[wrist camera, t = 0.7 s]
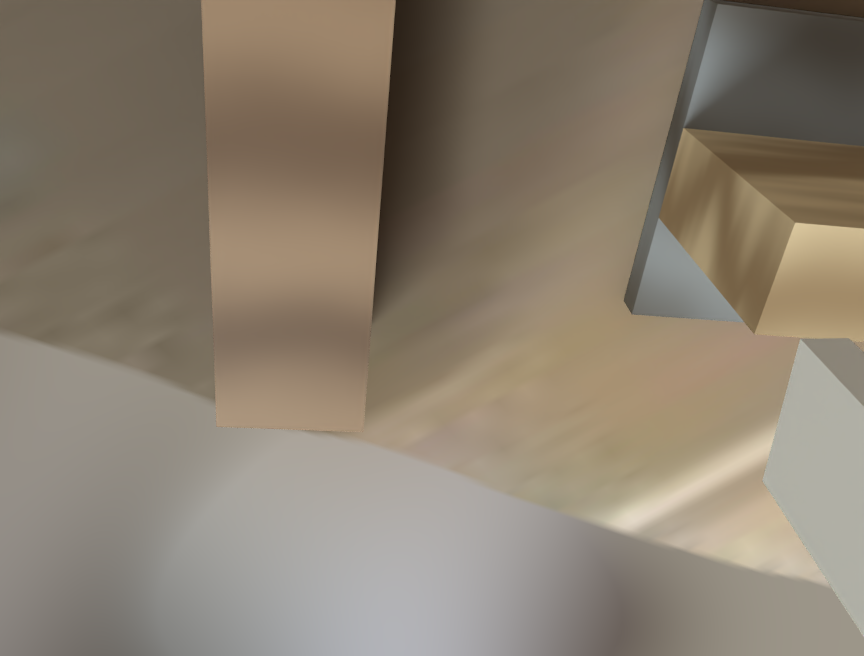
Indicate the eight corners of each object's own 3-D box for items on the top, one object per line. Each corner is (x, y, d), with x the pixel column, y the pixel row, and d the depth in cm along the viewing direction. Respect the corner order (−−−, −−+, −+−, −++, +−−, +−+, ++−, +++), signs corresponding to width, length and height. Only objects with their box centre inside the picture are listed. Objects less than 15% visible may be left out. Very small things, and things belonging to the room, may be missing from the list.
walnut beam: (233, -264, 24) (190, -304, 18) (402, -242, 25) (416, -273, 19) (241, 324, 34) (216, 426, 28) (362, 330, 34) (363, 431, 28)
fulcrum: (704, -2, 29) (854, 60, 20) (914, 24, 30) (1143, 94, 21) (623, 300, 34) (712, 449, 26) (800, 313, 35) (942, 461, 27)
